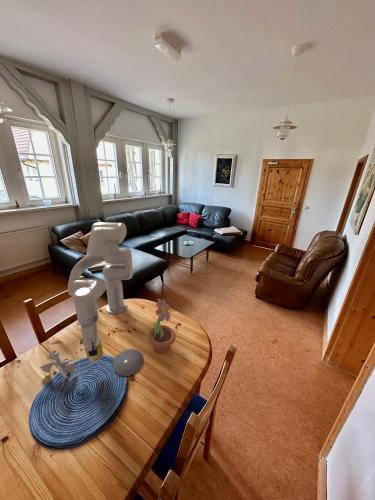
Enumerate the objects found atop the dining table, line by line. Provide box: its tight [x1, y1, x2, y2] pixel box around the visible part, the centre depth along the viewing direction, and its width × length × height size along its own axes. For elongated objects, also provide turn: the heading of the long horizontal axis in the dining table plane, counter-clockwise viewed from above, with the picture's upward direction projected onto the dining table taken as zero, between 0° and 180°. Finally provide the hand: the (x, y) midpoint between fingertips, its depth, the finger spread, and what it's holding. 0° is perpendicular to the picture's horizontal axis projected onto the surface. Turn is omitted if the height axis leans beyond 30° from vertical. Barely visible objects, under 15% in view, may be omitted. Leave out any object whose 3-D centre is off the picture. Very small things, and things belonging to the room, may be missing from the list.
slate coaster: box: [112, 348, 144, 377], centre depth 99 cm, size 14×14×1 cm
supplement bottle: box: [84, 333, 104, 363], centre depth 89 cm, size 7×7×13 cm
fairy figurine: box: [39, 349, 78, 387], centre depth 88 cm, size 10×18×14 cm, turn 64°
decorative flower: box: [147, 298, 176, 355], centre depth 101 cm, size 15×14×30 cm
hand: (93, 348), depth 90 cm, fingers closed on supplement bottle, 6 cm apart
